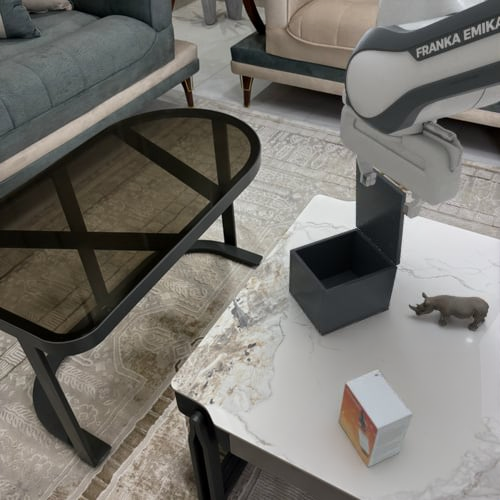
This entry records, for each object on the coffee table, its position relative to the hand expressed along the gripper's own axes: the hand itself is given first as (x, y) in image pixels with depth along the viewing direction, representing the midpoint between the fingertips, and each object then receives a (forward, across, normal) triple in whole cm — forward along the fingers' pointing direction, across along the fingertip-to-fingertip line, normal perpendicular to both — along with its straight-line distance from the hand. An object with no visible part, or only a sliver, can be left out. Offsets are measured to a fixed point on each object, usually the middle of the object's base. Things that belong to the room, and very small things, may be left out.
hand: (388, 198), depth 72 cm
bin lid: (+9, +8, -5) cm, 13 cm away
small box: (+28, -17, +13) cm, 35 cm away
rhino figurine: (+28, -5, -13) cm, 32 cm away
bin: (+28, +8, +1) cm, 29 cm away
